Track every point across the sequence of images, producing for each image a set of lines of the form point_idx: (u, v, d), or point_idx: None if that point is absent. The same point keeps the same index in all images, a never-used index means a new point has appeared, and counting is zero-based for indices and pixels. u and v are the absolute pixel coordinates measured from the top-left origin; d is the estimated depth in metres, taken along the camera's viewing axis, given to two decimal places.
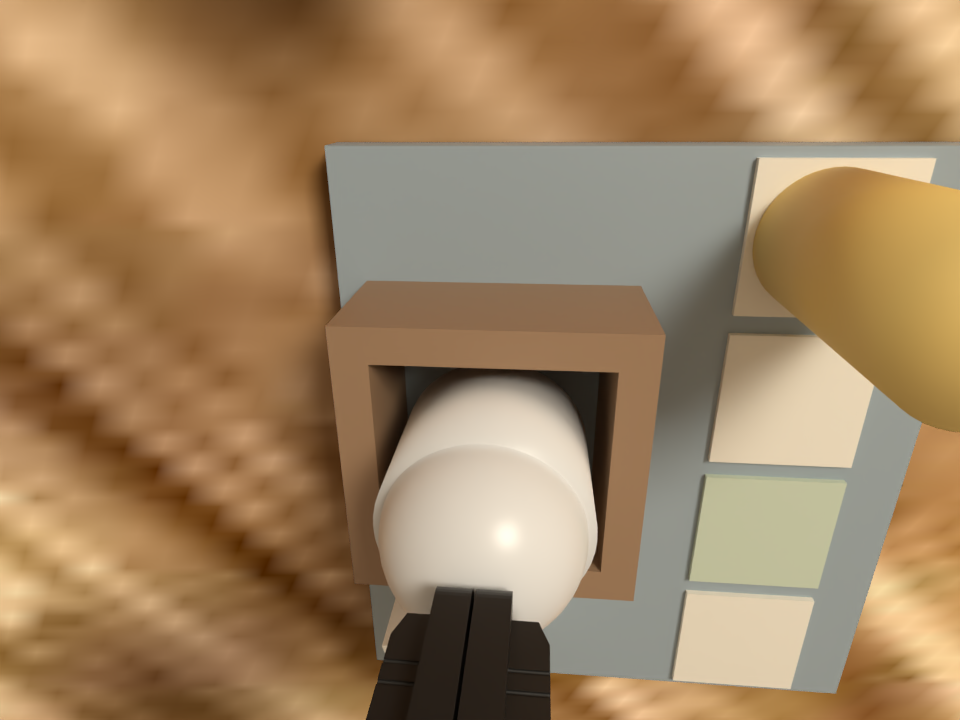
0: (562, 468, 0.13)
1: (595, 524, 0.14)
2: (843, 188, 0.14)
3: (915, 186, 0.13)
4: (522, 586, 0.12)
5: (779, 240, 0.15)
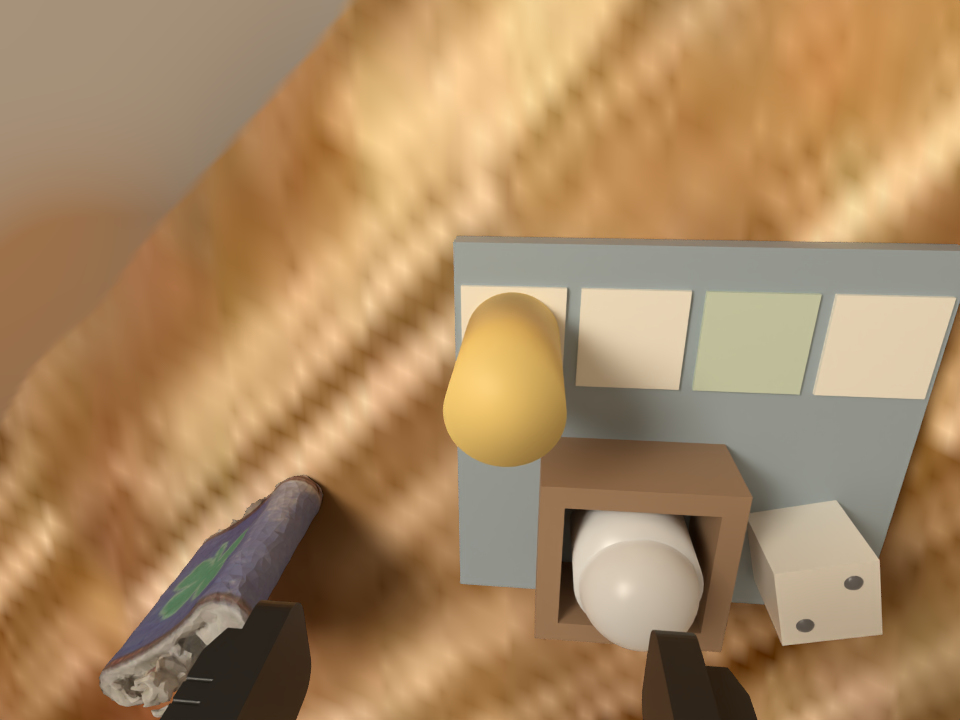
0: (594, 549, 0.25)
1: (633, 535, 0.24)
2: None
3: None
4: (633, 607, 0.23)
5: None
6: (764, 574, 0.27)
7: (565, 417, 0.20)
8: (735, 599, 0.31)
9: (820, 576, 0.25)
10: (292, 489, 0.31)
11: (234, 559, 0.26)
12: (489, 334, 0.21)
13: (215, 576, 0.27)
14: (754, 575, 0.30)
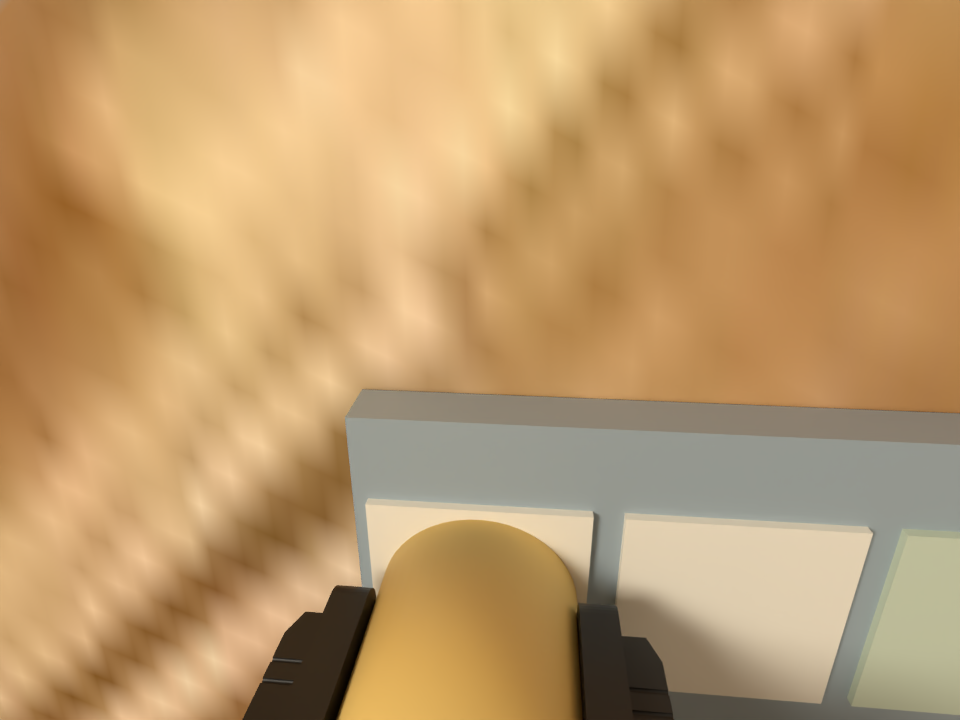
0: None
1: None
2: None
3: None
4: None
5: None
6: None
7: None
8: None
9: None
10: None
11: None
12: None
13: None
14: None
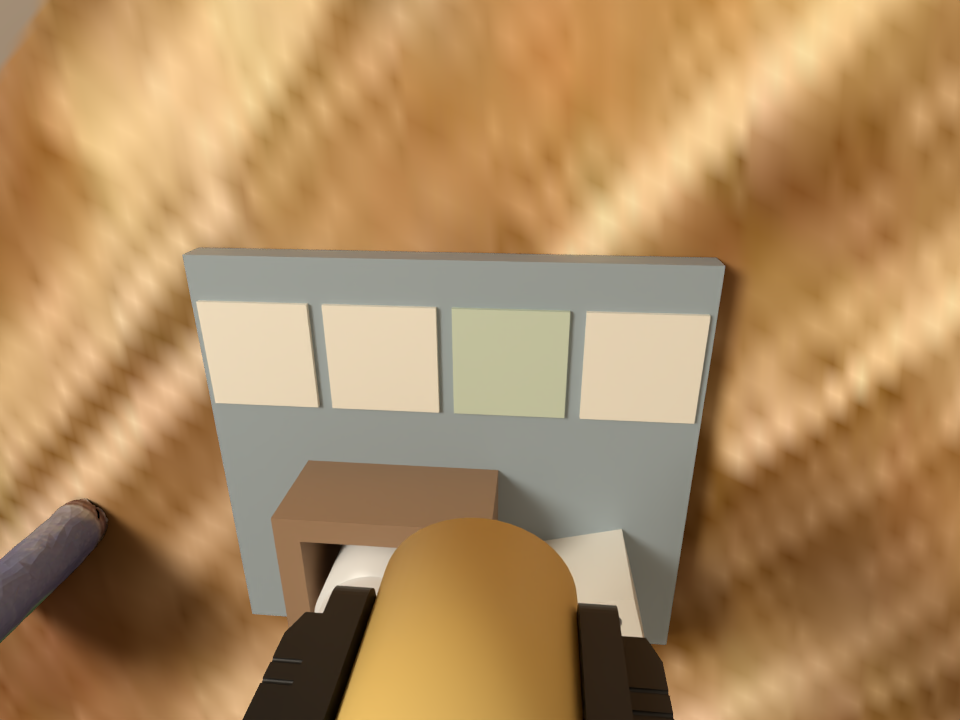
0: (329, 586, 0.23)
1: (365, 572, 0.23)
2: None
3: None
4: None
5: None
6: None
7: None
8: None
9: None
10: (62, 515, 0.29)
11: None
12: None
13: None
14: None
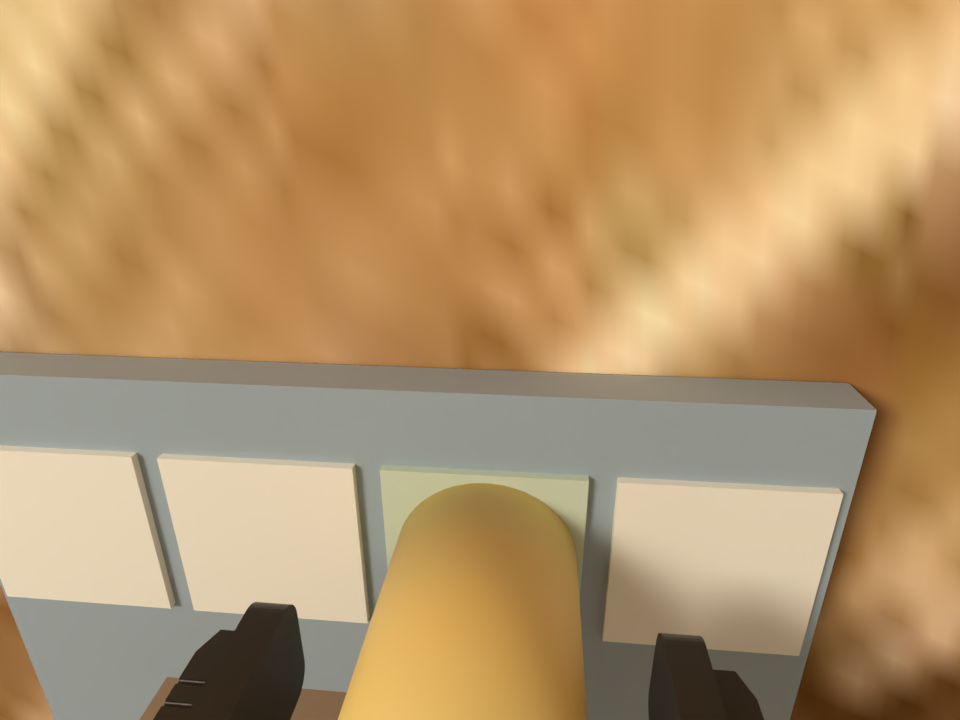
0: None
1: None
2: None
3: None
4: None
5: None
6: None
7: None
8: None
9: None
10: None
11: None
12: (411, 681, 0.09)
13: None
14: None
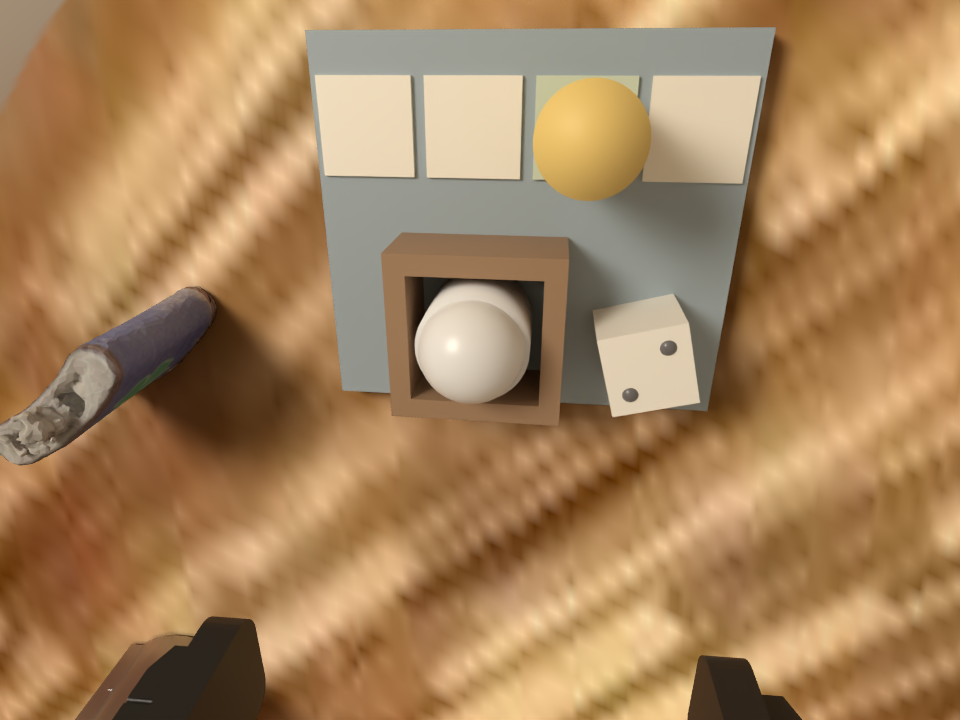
0: (429, 312, 0.27)
1: (461, 296, 0.27)
2: None
3: None
4: (452, 349, 0.25)
5: None
6: None
7: (649, 145, 0.21)
8: (591, 400, 0.33)
9: (638, 342, 0.27)
10: (182, 293, 0.33)
11: (111, 329, 0.29)
12: None
13: None
14: None
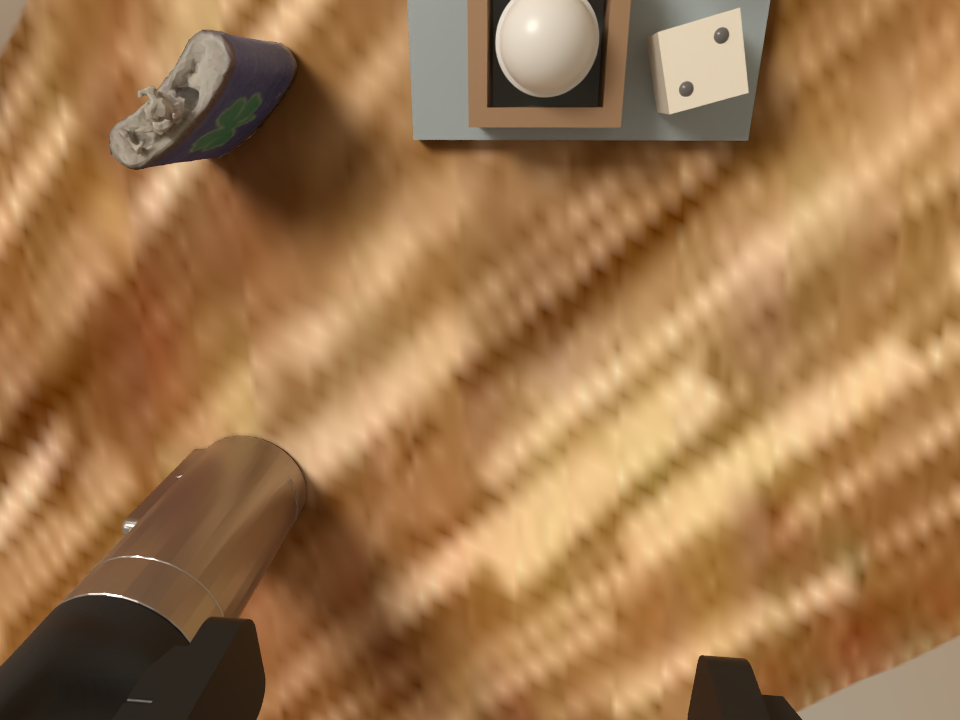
0: (510, 2, 0.31)
1: None
2: None
3: None
4: (536, 14, 0.29)
5: None
6: (657, 66, 0.33)
7: None
8: (642, 136, 0.37)
9: (694, 30, 0.31)
10: (270, 41, 0.37)
11: None
12: None
13: None
14: (656, 103, 0.36)
